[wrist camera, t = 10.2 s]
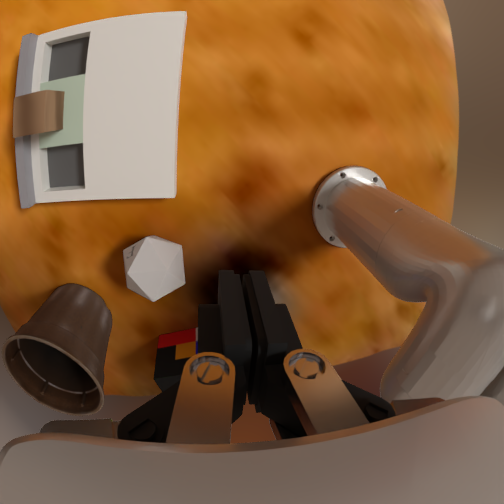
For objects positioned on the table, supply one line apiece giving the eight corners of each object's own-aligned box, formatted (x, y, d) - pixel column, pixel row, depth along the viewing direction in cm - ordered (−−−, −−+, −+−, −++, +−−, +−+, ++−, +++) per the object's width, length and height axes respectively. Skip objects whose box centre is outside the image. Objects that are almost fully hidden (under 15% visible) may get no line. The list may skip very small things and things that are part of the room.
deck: (187, 17, 27) (184, 5, 23) (176, 192, 37) (172, 202, 33) (38, 41, 23) (22, 36, 19) (36, 198, 34) (21, 208, 30)
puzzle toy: (214, 323, 48) (218, 367, 39) (229, 361, 52) (235, 404, 43) (159, 335, 47) (153, 379, 38) (179, 371, 52) (178, 413, 43)
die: (186, 223, 40) (137, 226, 31) (207, 282, 40) (161, 299, 31) (148, 243, 44) (100, 250, 35) (166, 296, 43) (120, 313, 35)
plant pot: (39, 259, 38) (-10, 320, 23) (128, 285, 42) (103, 361, 28) (45, 331, 44) (15, 394, 29) (120, 355, 48) (105, 426, 34)
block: (64, 91, 26) (45, 89, 22) (62, 129, 28) (44, 132, 24) (34, 97, 25) (14, 97, 21) (33, 133, 28) (13, 138, 23)
